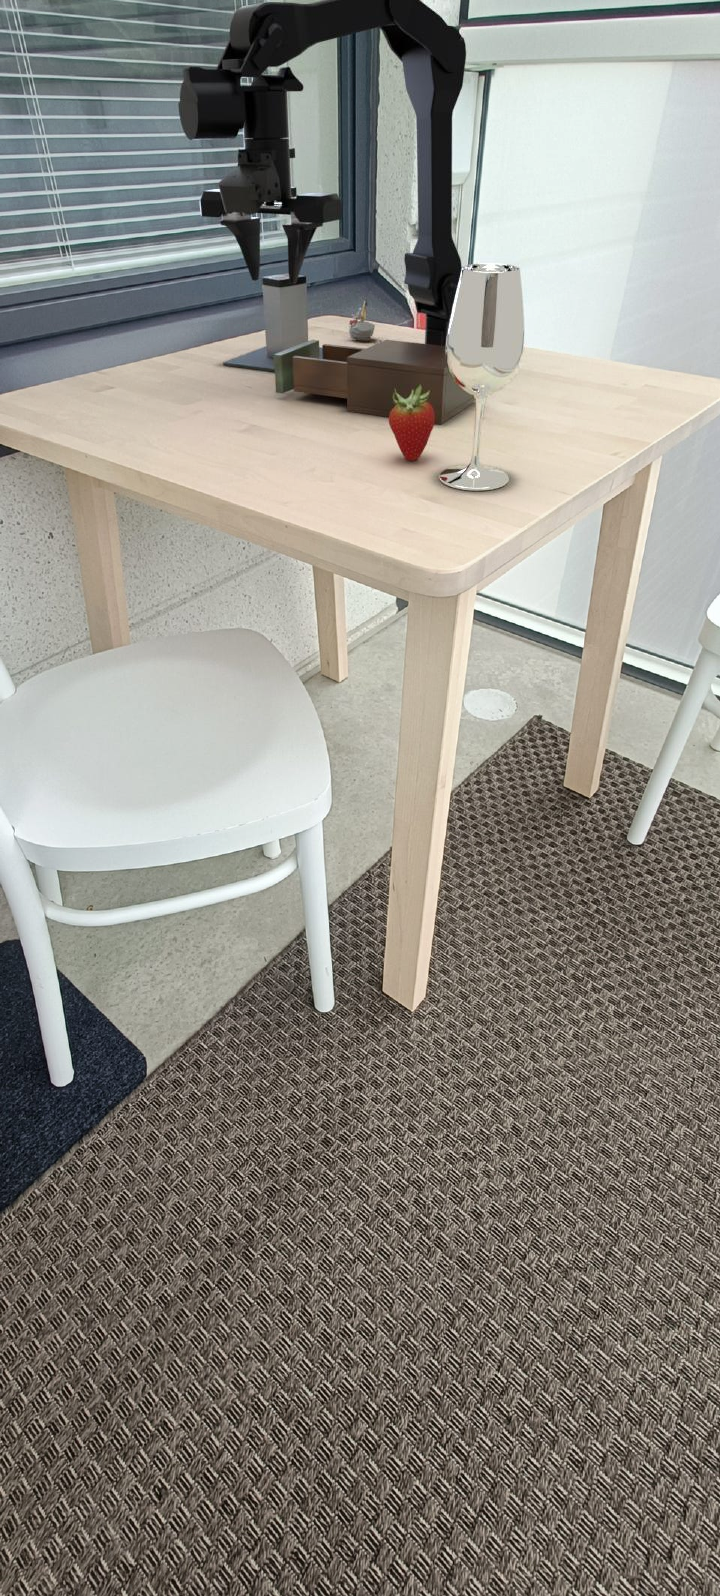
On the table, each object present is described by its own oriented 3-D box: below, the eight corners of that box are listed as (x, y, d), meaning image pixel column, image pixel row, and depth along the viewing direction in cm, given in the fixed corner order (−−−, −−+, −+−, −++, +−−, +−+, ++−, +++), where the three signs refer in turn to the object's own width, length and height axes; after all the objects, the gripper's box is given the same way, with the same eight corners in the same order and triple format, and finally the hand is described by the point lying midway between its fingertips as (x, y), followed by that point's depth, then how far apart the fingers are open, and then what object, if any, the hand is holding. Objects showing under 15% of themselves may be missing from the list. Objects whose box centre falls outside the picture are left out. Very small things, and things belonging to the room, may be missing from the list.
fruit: (378, 461, 100) (379, 386, 95) (405, 449, 104) (407, 376, 99) (415, 470, 98) (418, 394, 93) (441, 457, 101) (445, 383, 96)
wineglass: (423, 480, 95) (433, 268, 83) (467, 462, 100) (482, 259, 87) (481, 497, 91) (500, 277, 79) (523, 478, 96) (548, 267, 83)
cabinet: (347, 411, 116) (346, 357, 112) (385, 390, 124) (385, 339, 120) (441, 424, 111) (444, 368, 107) (474, 402, 119) (478, 349, 115)
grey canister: (292, 351, 142) (288, 273, 135) (309, 355, 140) (306, 275, 133) (266, 356, 139) (261, 277, 132) (283, 360, 137) (279, 280, 130)
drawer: (268, 391, 121) (265, 353, 118) (305, 375, 128) (304, 338, 125) (356, 404, 116) (356, 364, 113) (390, 385, 123) (390, 348, 120)
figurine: (376, 342, 148) (376, 302, 145) (350, 343, 148) (350, 303, 144) (372, 336, 153) (372, 297, 149) (347, 336, 152) (346, 297, 148)
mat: (276, 345, 147) (276, 342, 147) (350, 353, 142) (350, 350, 142) (223, 365, 136) (223, 362, 136) (300, 375, 131) (300, 372, 131)
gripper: (166, 139, 107) (182, 285, 117) (298, 142, 100) (303, 296, 110) (218, 136, 115) (229, 274, 124) (343, 139, 108) (345, 283, 118)
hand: (274, 282), depth 119 cm, fingers open, 6 cm apart
